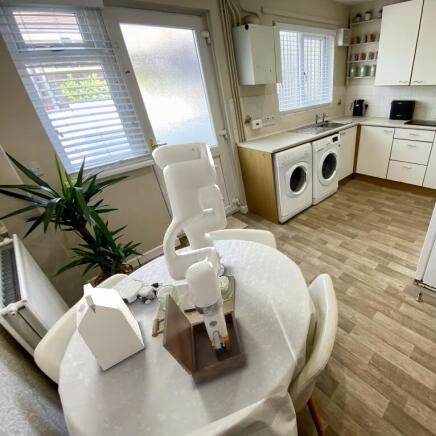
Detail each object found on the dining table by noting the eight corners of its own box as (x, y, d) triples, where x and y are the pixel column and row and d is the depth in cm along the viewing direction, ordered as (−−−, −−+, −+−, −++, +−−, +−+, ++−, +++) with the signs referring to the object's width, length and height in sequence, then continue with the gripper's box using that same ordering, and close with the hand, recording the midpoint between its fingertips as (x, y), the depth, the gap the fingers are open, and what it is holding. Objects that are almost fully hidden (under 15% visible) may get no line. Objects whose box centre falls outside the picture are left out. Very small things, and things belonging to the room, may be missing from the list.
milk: (144, 347, 80) (112, 291, 67) (103, 370, 74) (60, 314, 61) (138, 323, 89) (108, 270, 76) (100, 342, 82) (61, 288, 70)
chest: (235, 320, 88) (233, 310, 86) (245, 365, 74) (243, 355, 71) (193, 334, 84) (190, 324, 81) (196, 385, 69) (191, 375, 67)
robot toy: (166, 286, 106) (132, 284, 106) (163, 279, 103) (129, 277, 104) (150, 309, 95) (113, 307, 95) (147, 301, 93) (109, 299, 93)
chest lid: (169, 293, 73) (152, 300, 72) (165, 344, 58) (144, 353, 57) (190, 323, 81) (175, 330, 80) (192, 373, 67) (174, 383, 66)
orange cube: (228, 336, 82) (226, 327, 79) (231, 349, 78) (228, 340, 75) (213, 342, 80) (210, 332, 78) (215, 355, 76) (212, 346, 74)
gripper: (226, 320, 62) (236, 359, 71) (218, 278, 77) (228, 315, 85) (196, 330, 60) (210, 370, 68) (194, 285, 74) (206, 322, 83)
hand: (220, 339), depth 77 cm, fingers open, 9 cm apart
